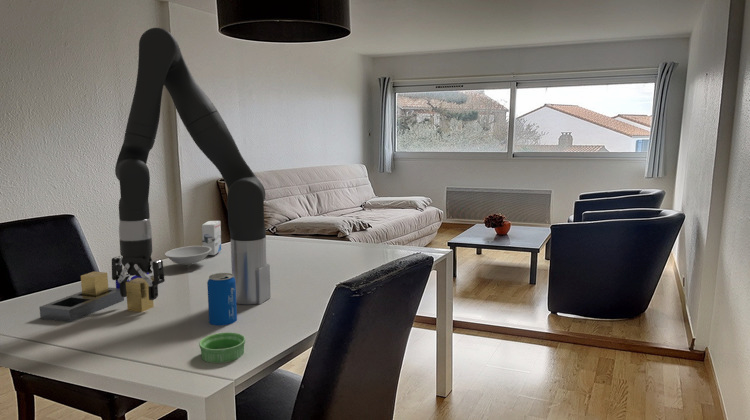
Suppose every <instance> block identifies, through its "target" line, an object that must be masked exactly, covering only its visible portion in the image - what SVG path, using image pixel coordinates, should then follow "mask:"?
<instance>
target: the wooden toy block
mask: <svg viewBox="0 0 750 420" xmlns="http://www.w3.org/2000/svg"><path fill="white" fill-rule="evenodd" d="M151 280H152V279H151ZM148 287H149V285H148V283H147V282H146V280H143V278H136V279H133V280H131V279H129V281H128V282H126V294H127V296H126V304H127V305H126V307H127V311H128V312H137V313H138V312H139V313H143V312H146V311H148V310H150V309H152V308H154V305H155V304H154V300H149V291H148Z"/></svg>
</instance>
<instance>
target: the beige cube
mask: <svg viewBox="0 0 750 420" xmlns="http://www.w3.org/2000/svg"><path fill="white" fill-rule="evenodd" d="M80 284H81V292H82V296H88V297H98V296H101V295H103V294H106V293H109V289H108V287H109V279H108V272H103V271H91V272H88V273H84V274H82V275H80Z"/></svg>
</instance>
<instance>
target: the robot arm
mask: <svg viewBox="0 0 750 420" xmlns="http://www.w3.org/2000/svg"><path fill="white" fill-rule="evenodd" d="M138 41H139V42H138V61H137V62H138V66H137V74H136V82H135V89H134V92H133V93H134V94H133V97H132V103H131V107H130V110H129V114H128V118H127V123H126V127H125V132H124V136H123V143H122V146H121V148H120V150H119V154H118V157H117V160H116V163H115V169H114V172H115V177H116V179H117V180H118V182H119V190H120V198H119V200H118V217H119V223H118V238H119V253H120V255H119V256H115V257H112V258H111V279H112V281H116V280H117V281H118V283H119V284H120V294H121V296H122V297H124V298H127V294H126V282H128V281H127V280H128V279H129V280H130V279H131V277H133V276H135V275H136V276H141V277H142V278H143V280H146V282H147V283H148V285H149V287H148V291H149V300H153V301H155V300H157V298H158V296H159V285H160V284H162V283H164V282H165V271H164V262H163V260H162V259H158V260H153V259H152V253H153V235H152V234H153V233H152V224H151V218H150V217H151V215H150V203H149V197H150V195H149V194H150V186H151V185H150V183H151V178H150V177H151V176H150V170H149V166H148V165H147V162H148V158H149V154H150V151H151V150H152V149H153V147H154V145H155V142H156V141H155V140H156V138H157V133H158V130H159V124H160V118H161V117H160V116H161V107H162V98H163V91H164V87H165V89H166V90H167V92H168V94H169V95H170V98H171V100H172V102H173V104H174V106H175V109H176V112H177V113H178V115H179V118H180V120H181V122H182V124H183V125H184V127H185V129H186V130H187V132H188V134H189V136H190V137H191V139H192V140H193V143H195V145H196V146H197V148H198V149H199V150H200V151H201V152H202V153H203V154H204V155H205V157H206V158H207V159H209V161H210V162H211V163H212V164H213V165H214V166H215V168H216V169H217V171H218V172H219V174H220V175H221V176H222V179H223V180H224V183H225V184H226V187H227V188H228V190H227V197H226V199H227V200H226V202H227V204H226V205H227V220H228V221H227V222H228V230H229V233H230V237H229V238H230V256H231V257H230V260H231V262H230V263H231V274H233V277H234V278H235V281H236V305H237V304H238V305H261V304H262V303H264V302H265V301H267V300H269V299H271V296H272V295H271V266H270V264H269V263H267V261H268V260H267V236H266V235H267V233H266V232H267V231H266V225H265V223H266V222H265V208H264V207H265V205H264V203H265V199H266V189H265V187H264V185H263V183H262V182H261V181H260V180H259V178H258V177H257V176H256V174H255V173H254V171H253V170H252V169H251V167H250V166H249V165H248V163H247V162H246V160H245V159H244V157H243V156H242V154H241V152H240V149H239V148H238V145H237V144H236V141H235V139H234V137H233V136H232V133H231V132H230V129H229V128H228V126H227V124H226V121H224V118H223V117H222V116H221V114H220V113H219V111H218V109H217V107H216V106H215V105H214V103H213V101H212V100H211V99H210V97H209V96H208V94H207V93H205V91H204V90H203V88H201V87H200V85H199V84H198V83H197V81H196V79H194V77H193V75H192V73H191V71H190V69H189V67H188V64H187V63H186V61H185V58H184V56H183V54H182V51H181V48H180V46H179V44H178V41H177V39H176V38H175V37H174V35H173V34H172V33H171V32H170V31H169V30H166V29H165V28H162V27H152V28H149V29H147V30H146V31H144V32H143V33H142V35H141V36H140V38H139V40H138ZM123 267H124V268H123ZM147 273H149V274H147ZM150 278H151V279H152V280H151V279H150Z"/></svg>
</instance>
